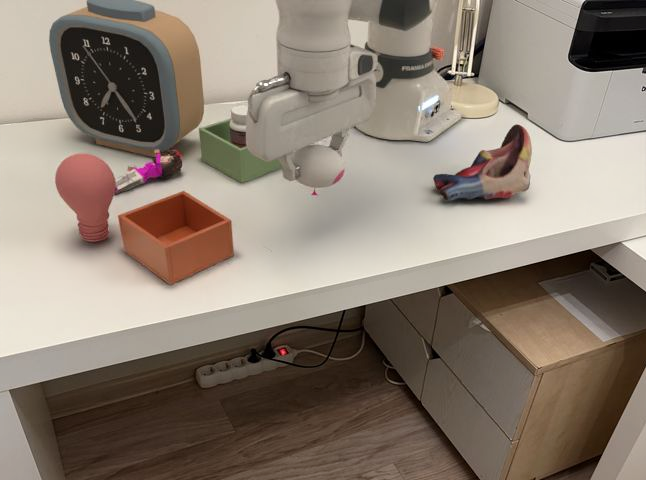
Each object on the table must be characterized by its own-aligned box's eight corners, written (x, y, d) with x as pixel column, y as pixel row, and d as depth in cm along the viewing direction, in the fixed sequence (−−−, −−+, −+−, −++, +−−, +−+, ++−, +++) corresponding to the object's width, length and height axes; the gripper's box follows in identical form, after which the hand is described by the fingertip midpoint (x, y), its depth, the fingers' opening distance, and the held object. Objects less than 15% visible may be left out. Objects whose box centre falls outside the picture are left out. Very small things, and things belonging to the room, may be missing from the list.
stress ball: (342, 201, 97) (345, 153, 96) (342, 196, 89) (346, 143, 88) (289, 196, 96) (292, 148, 95) (284, 191, 88) (288, 138, 87)
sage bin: (249, 143, 118) (248, 112, 114) (289, 164, 113) (289, 133, 109) (201, 160, 112) (198, 128, 108) (241, 183, 107) (240, 150, 103)
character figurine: (123, 205, 101) (191, 174, 107) (113, 174, 97) (183, 144, 103) (104, 191, 104) (171, 161, 110) (94, 161, 100) (163, 132, 106)
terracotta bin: (187, 225, 96) (183, 190, 93) (233, 255, 92) (231, 220, 88) (124, 251, 90) (117, 215, 87) (170, 285, 86) (164, 248, 82)
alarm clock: (68, 140, 113) (36, -1, 99) (103, 119, 120) (77, -15, 106) (178, 166, 109) (161, 23, 95) (207, 143, 116) (195, 7, 102)
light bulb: (135, 241, 92) (121, 159, 84) (85, 259, 88) (65, 175, 80) (109, 219, 96) (93, 139, 88) (60, 236, 92) (38, 153, 84)
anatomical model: (548, 127, 104) (459, 116, 99) (533, 209, 108) (447, 203, 103) (517, 124, 112) (434, 115, 108) (505, 201, 116) (424, 195, 112)
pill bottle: (255, 168, 110) (253, 117, 104) (227, 163, 110) (223, 113, 105) (264, 155, 113) (263, 106, 108) (237, 151, 114) (234, 102, 108)
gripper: (266, 94, 75) (271, 204, 84) (386, 53, 87) (379, 154, 96) (229, 77, 78) (238, 185, 87) (350, 40, 90) (347, 139, 99)
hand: (313, 168), depth 92 cm, fingers closed on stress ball, 6 cm apart
